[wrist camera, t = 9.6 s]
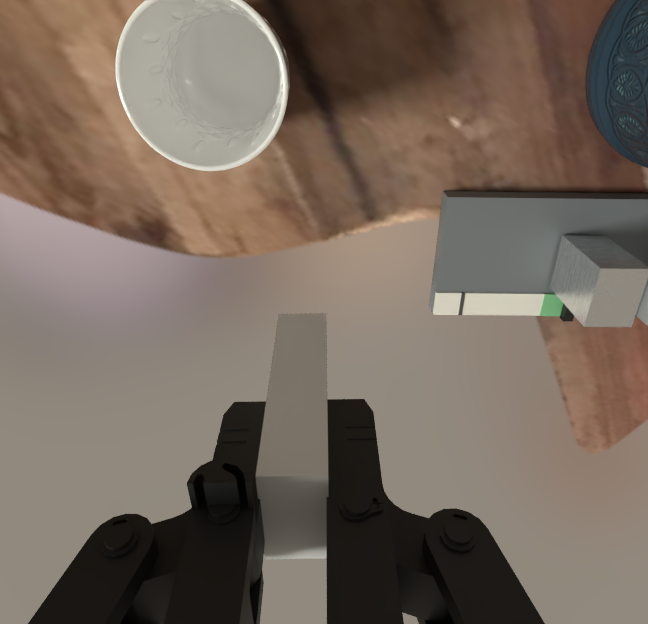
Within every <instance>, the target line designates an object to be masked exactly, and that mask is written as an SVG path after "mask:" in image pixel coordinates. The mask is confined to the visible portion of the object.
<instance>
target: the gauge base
mask: <svg viewBox="0 0 648 624" xmlns="http://www.w3.org/2000/svg"><path fill="white" fill-rule="evenodd" d="M562 235H576V236H606V237H608V238H609V239H610V240H612V241H613V242H615V243H616V244H617V245H619V246H620V247H622V248H623V249H624V250H626V251H627V252H628V253H630V254H631V255H633V256H634V257H635V258H637V259H638V260H639V261H641V262H642V263H644V264H645V265H646V266H648V194H646V193H559V192H472V191H443V197H442V205H441V213H440V221H439V230H438V238H437V246H436V255H435V263H434V270H433V279H432V287H431V295H430V304H429V306H430V308H431V311H432V314H434V315H435V314H436V315H530V316H560V314H561V310H562V307H563V302H562V301H561V300H560V299H559V298H558V297H557V295H556V294H555V293H554V292H553V291H552V290H551V289H550V284H551V279H552V275H553V271H554V267H555V263H556V259H557V255H558V251H559V246H560V242H561V238H562ZM635 316H636V317H638V318H639V319H640V320H641V321H643V322H644V323H645V324H646V325H647V326H648V280H647V283H646V286H645V288H644V291H643V294H642V297H641V300H640V303H639V306H638V309H637V312H636V315H635Z"/></svg>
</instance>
